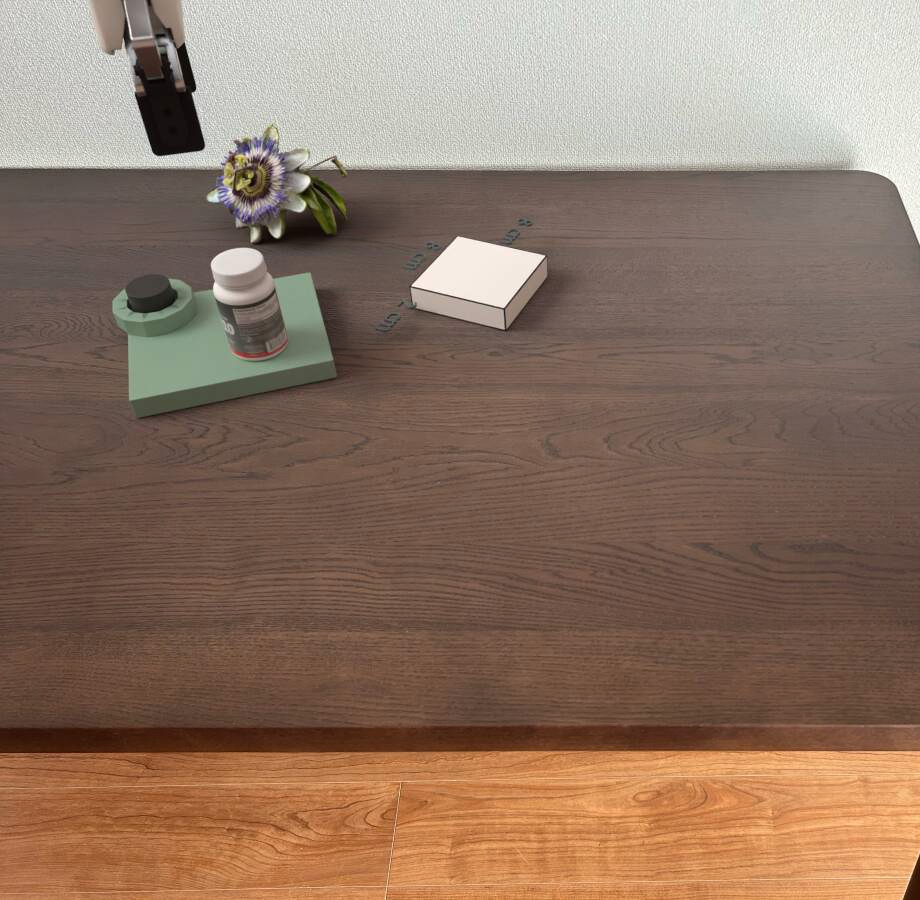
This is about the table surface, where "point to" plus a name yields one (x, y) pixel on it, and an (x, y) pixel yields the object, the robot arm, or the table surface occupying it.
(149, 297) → the button
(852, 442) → the table surface
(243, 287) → the pill bottle
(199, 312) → the scale
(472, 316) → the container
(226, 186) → the passion flower
